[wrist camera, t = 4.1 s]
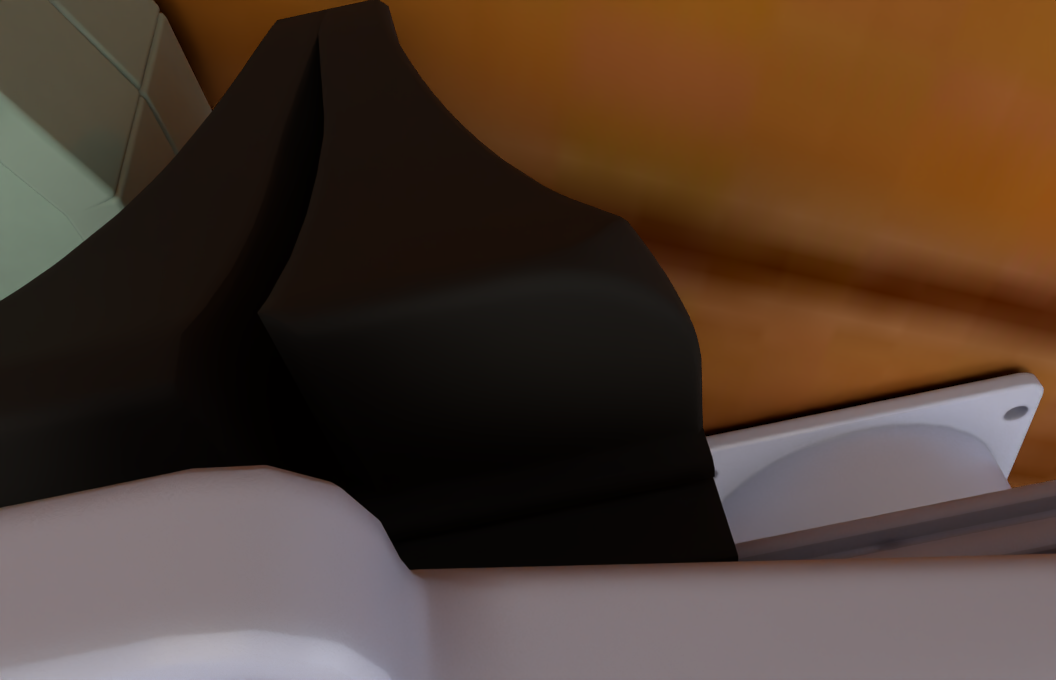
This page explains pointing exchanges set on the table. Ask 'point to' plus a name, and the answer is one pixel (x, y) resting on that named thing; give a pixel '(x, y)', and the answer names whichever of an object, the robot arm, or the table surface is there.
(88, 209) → the bowl
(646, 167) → the table surface
